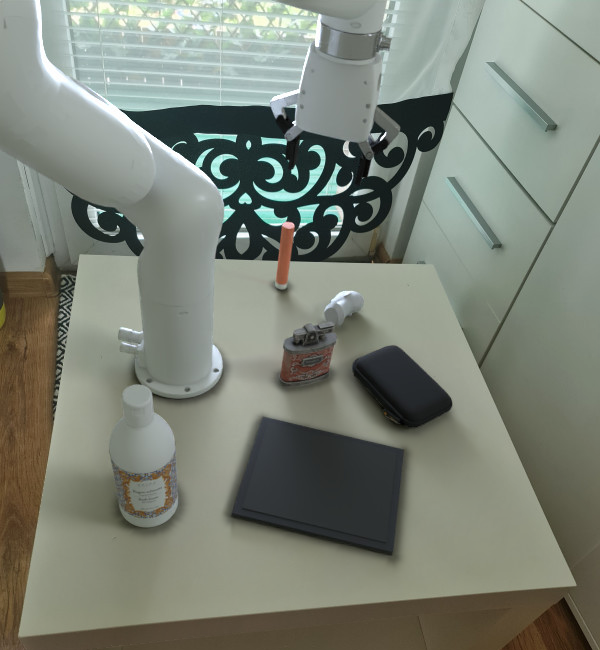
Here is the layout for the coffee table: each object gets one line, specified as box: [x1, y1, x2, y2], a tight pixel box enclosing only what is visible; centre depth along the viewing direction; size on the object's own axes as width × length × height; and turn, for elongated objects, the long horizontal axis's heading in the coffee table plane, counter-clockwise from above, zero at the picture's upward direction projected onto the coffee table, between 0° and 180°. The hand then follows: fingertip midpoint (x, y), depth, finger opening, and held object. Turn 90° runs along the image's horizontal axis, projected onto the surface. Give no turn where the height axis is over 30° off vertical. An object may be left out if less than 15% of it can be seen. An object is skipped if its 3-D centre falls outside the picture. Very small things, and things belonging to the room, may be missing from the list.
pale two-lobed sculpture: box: [323, 290, 365, 327], centre depth 101 cm, size 4×8×5 cm
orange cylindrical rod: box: [274, 221, 296, 290], centre depth 101 cm, size 2×2×12 cm
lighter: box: [278, 321, 338, 388], centre depth 88 cm, size 8×3×10 cm, turn 114°
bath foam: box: [108, 384, 179, 528], centre depth 67 cm, size 7×7×20 cm
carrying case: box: [351, 344, 453, 429], centre depth 91 cm, size 11×3×15 cm
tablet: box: [231, 415, 405, 556], centre depth 80 cm, size 20×16×1 cm
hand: (325, 173), depth 86 cm, fingers open, 9 cm apart
